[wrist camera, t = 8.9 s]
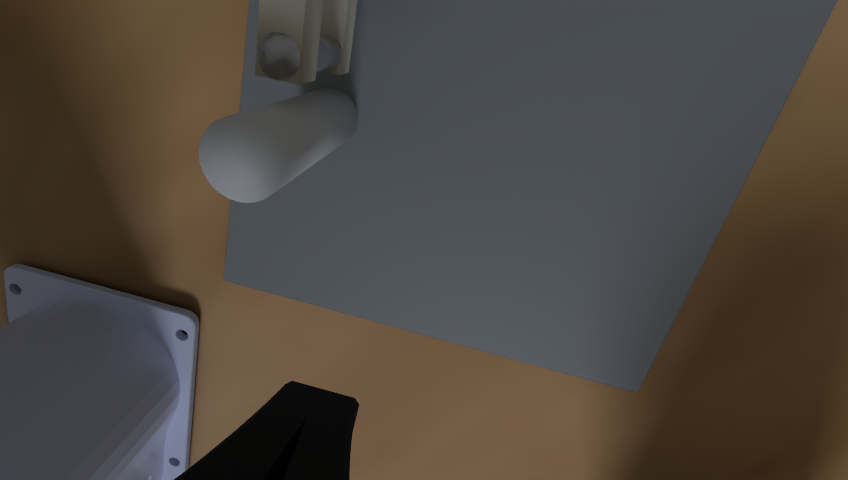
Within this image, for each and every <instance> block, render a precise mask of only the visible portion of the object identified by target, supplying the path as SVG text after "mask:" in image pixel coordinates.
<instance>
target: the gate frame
mask: <svg viewBox="0 0 848 480" xmlns="http://www.w3.org/2000/svg"><path fill="white" fill-rule="evenodd" d="M836 2H837V0H358V2H357V10H356V18H355V25H354V33H353V41H352V49H351V57H350V65H349V73H346V74H342V75H337V74H333V73H328V72H323V73H318V74H316V78H315V81H312V82H307V83H303V84H299V85H298V84H293V83H288V82H284V81H279V80H274V79H270V78H265V77H260V76H255V65H256V47H257V29H258V12H259V0H250V6H249V16H248V27H247V38H246V48H245V59H244V70H243V81H242V91H241V102H240V113H237V114H234V115H230V116H227V117H223V118H221V119H218V120H216V121H215V122H213V123H212V124H211V125H210V126H209V127H208V128H207V129H206V130H205V132H204V133H203V135H202V138H201V140H200V144H199V161H200V165H201V168H202V171H203V173H204V175H205V177H206V178H207V180H208V181H209V183H210V184H211V185H212V186H213V187H214V188H215V189H216V190H217V191H218V192H219V193H221V194H222V195H224V196H225V197H227V198H229V199H231V209H230V220H229V230H228V241H227V252H226V263H225V273H224V280H225V281H228V282H232V283H236V284H239V285H243V286H247V287H250V288H254V289H258V290H262V291H265V292H269V293H273V294H276V295H280V296H284V297H287V298H291V299H295V300H298V301H302V302H306V303H309V304H313V305H317V306H320V307H324V308H328V309H331V310H335V311H339V312H342V313H346V314H350V315H353V316H357V317H361V318H364V319H368V320H372V321H375V322H379V323H383V324H386V325H390V326H394V327H397V328H401V329H405V330H408V331H412V332H416V333H419V334H423V335H427V336H430V337H434V338H438V339H441V340H445V341H449V342H452V343H456V344H460V345H463V346H467V347H471V348H474V349H478V350H482V351H485V352H489V353H493V354H496V355H500V356H504V357H507V358H511V359H515V360H518V361H522V362H526V363H529V364H533V365H537V366H540V367H544V368H548V369H551V370H555V371H559V372H562V373H566V374H570V375H573V376H577V377H581V378H584V379H588V380H592V381H595V382H599V383H603V384H607V385H610V386H614V387H618V388H621V389H625V390H629V391H632V392H636V393H638V391H639V389H640V387H641V385H642V383H643V381H644V379H645V377H646V375H647V373H648V371H649V369H650V367H651V365H652V363H653V361H654V359H655V357H656V355H657V353H658V352H659V350H660V348H661V346H662V344H663V342H664V340H665V338H666V336H667V334H668V332H669V330H670V328H671V326H672V324H673V322H674V320H675V318H676V316H677V314H678V312H679V310H680V308H681V306H682V304H683V302H684V300H685V299H686V297H687V295H688V293H689V291H690V289H691V287H692V285H693V283H694V281H695V279H696V277H697V275H698V273H699V271H700V269H701V267H702V265H703V263H704V261H705V259H706V257H707V255H708V253H709V251H710V249H711V247H712V245H713V244H714V242H715V240H716V238H717V236H718V234H719V232H720V230H721V228H722V226H723V224H724V222H725V220H726V218H727V216H728V214H729V212H730V210H731V208H732V206H733V204H734V202H735V200H736V198H737V196H738V194H739V192H740V190H741V189H742V187H743V185H744V183H745V181H746V179H747V177H748V175H749V173H750V171H751V169H752V167H753V165H754V163H755V161H756V159H757V157H758V155H759V153H760V151H761V149H762V147H763V145H764V143H765V141H766V139H767V137H768V135H769V134H770V132H771V130H772V128H773V126H774V124H775V122H776V120H777V118H778V116H779V114H780V112H781V110H782V108H783V106H784V104H785V102H786V100H787V98H788V96H789V94H790V92H791V90H792V88H793V86H794V84H795V82H796V80H797V79H798V77H799V75H800V73H801V71H802V69H803V67H804V65H805V63H806V61H807V59H808V57H809V55H810V53H811V51H812V49H813V47H814V45H815V43H816V41H817V39H818V37H819V35H820V33H821V31H822V29H823V27H824V26H825V24H826V22H827V20H828V18H829V16H830V14H831V12H832V10H833V8H834V6H835V4H836Z"/></svg>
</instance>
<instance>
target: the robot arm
mask: <svg viewBox="0 0 848 480" xmlns="http://www.w3.org/2000/svg"><path fill="white" fill-rule="evenodd" d="M4 283H5V293H6V303H7V313H8V324H6V325H4V326H2V327H1V328H0V480H349V470H350V452H351V440H352V432H353V428H354V424H355V420H356V416H357V412H358V407H359V404H358V402H357V401H356V399H355V398H352V397H349V396H345V395H342V394H338V393H334V392H331V391H327V390H323V389H320V388H316V387H313V386H309V385H305V384H302V383H298V382H294V381H291V382H289V383H287V384H285V385H284V386H283V387H282V388H281V389H280V390H279V391H278V392H277V393H276V394H275V395H274V396H273V397H272V398H271V399H270V400H269V401H268V402H267V403H266V404H265V405H264V406H263V407H261V408H260V409H259V410H258V411H257V412H256V413H255V414H254V415H253V416H252V417H250V418H249V419H248V420H247V421H246V422H245V423H244V424H242V425H241V426H240V427H239V428H238V429H237V430H236V431H234V432H233V433H232V434H231V435H230V436H228V437H227V438H226V439H225V440H224V441H222V442H221V443H220V444H219V445H217V446H216V447H215V448H214V449H213V450H211V451H210V452H209V453H208V454H207V455H205V456H204V457H203V458H202V459H200V460H199V461H198V462H197V463H195V464H194V465H193V466H191V467H190V468H189V469H188V467H189V454H190V441H191V427H192V414H193V400H194V387H195V374H196V360H197V347H198V333H199V319H198V317H197V316H196V315H195V314H194V313H193V312H192V311H189V310H187V309H183V308H179V307H176V306H172V305H168V304H165V303H161V302H158V301H154V300H150V299H147V298H143V297H139V296H136V295H132V294H128V293H125V292H121V291H117V290H114V289H110V288H106V287H103V286H99V285H95V284H92V283H88V282H85V281H81V280H77V279H74V278H70V277H66V276H63V275H59V274H55V273H52V272H48V271H44V270H41V269H37V268H33V267H30V266H26V265H22V264H14V265H12V266H10V267H8V268H6V269H5V271H4ZM182 330H184V331H186V333H187V334H188V335H185V334H184V333H183V332H182Z"/></svg>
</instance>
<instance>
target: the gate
mask: <svg viewBox="0 0 848 480" xmlns="http://www.w3.org/2000/svg"><path fill="white" fill-rule="evenodd" d="M357 2H358V0H259V12H258V29H257V47H256V65H255V76H260V77H265V78H270V79H274V80H279V81H284V82H288V83H293V84H298V85H299V84H303V83H307V82H312V81H315V78H316V74H318V73H323V72H328V73H333V74H337V75H342V74H346V73H349V65H350V57H351V49H352V41H353V33H354V25H355V18H356V10H357Z"/></svg>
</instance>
